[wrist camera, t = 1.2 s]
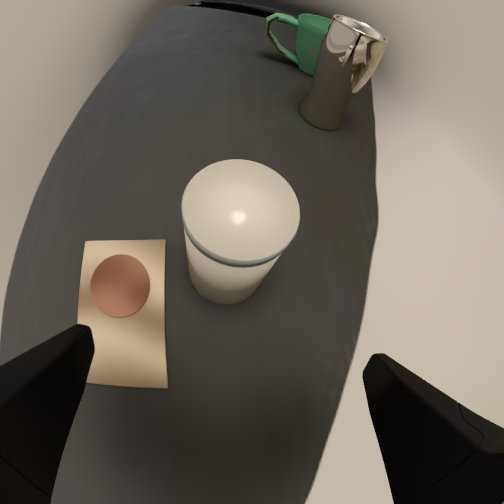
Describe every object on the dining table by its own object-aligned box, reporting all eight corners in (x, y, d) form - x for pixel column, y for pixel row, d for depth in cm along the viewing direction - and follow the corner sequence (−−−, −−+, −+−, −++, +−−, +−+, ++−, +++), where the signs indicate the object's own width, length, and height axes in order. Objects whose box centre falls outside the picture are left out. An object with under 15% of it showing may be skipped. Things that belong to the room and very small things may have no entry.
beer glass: (349, 136, 33) (400, 49, 19) (301, 129, 31) (345, 28, 18) (334, 105, 35) (373, 26, 22) (291, 98, 34) (323, 8, 20)
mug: (333, 66, 42) (351, 26, 33) (340, 90, 38) (363, 44, 29) (259, 46, 40) (270, 3, 31) (254, 67, 36) (266, 15, 27)
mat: (168, 387, 18) (167, 388, 17) (80, 381, 17) (76, 381, 16) (166, 242, 23) (165, 238, 22) (87, 243, 21) (84, 239, 21)
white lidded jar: (264, 303, 22) (309, 259, 13) (189, 306, 21) (179, 261, 12) (258, 235, 24) (290, 161, 15) (188, 236, 23) (184, 157, 14)
